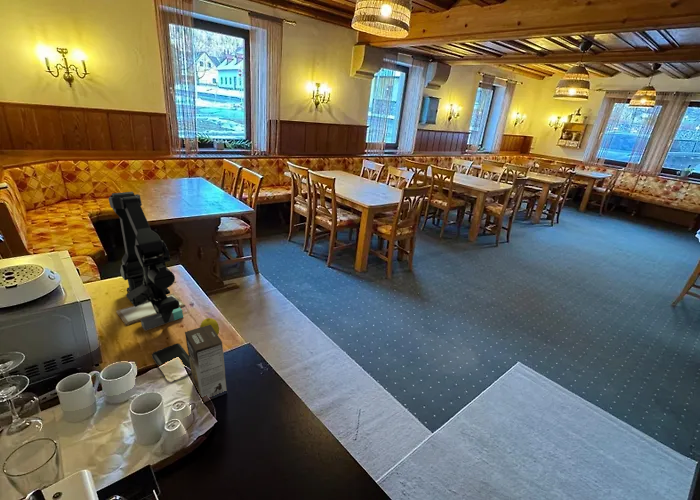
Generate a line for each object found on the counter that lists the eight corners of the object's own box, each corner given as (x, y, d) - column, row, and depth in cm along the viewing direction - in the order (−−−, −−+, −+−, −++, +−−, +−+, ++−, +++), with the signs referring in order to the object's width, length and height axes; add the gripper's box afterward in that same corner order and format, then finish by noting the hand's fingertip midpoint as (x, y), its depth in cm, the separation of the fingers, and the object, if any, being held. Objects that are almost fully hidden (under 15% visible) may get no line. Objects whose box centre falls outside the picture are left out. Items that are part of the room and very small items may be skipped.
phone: (168, 381, 89) (150, 353, 99) (169, 384, 90) (151, 356, 100) (198, 367, 95) (179, 342, 105) (199, 371, 95) (179, 345, 105)
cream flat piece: (116, 312, 119) (115, 308, 119) (173, 294, 132) (173, 291, 132) (126, 325, 112) (125, 322, 112) (185, 305, 125) (184, 302, 125)
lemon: (223, 336, 110) (221, 314, 107) (215, 346, 105) (212, 324, 102) (206, 334, 110) (203, 312, 107) (197, 344, 105) (194, 322, 102)
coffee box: (191, 383, 90) (183, 331, 84) (216, 373, 94) (210, 323, 88) (201, 405, 84) (194, 351, 78) (228, 394, 87) (222, 341, 82)
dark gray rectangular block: (142, 326, 112) (140, 319, 111) (179, 313, 120) (178, 306, 119) (145, 330, 110) (143, 322, 109) (183, 317, 118) (182, 309, 117)
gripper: (117, 273, 110) (126, 316, 115) (136, 295, 98) (145, 341, 103) (155, 264, 117) (162, 304, 123) (176, 284, 105) (183, 327, 111)
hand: (162, 318), depth 115 cm, fingers open, 6 cm apart
